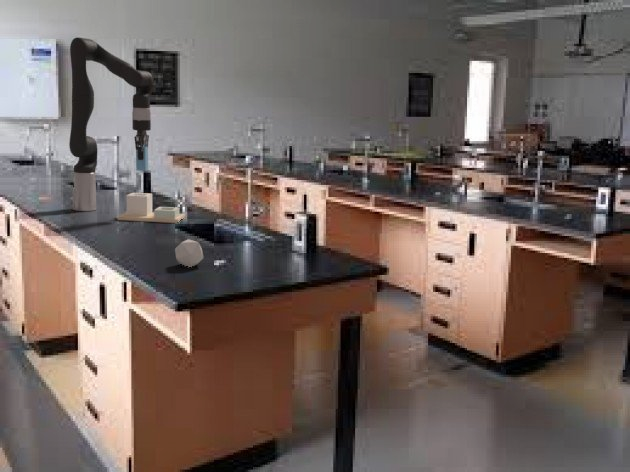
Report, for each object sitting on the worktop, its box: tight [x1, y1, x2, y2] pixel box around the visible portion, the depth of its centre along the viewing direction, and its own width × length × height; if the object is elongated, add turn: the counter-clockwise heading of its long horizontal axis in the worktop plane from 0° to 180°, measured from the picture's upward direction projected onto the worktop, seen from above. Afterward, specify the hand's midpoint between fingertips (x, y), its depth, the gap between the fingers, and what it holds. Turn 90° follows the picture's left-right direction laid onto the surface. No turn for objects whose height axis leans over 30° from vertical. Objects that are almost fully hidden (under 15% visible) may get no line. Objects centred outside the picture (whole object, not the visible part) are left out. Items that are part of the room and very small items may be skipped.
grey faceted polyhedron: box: [174, 238, 204, 268], centre depth 204 cm, size 8×9×10 cm
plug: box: [135, 146, 149, 172], centre depth 275 cm, size 4×4×10 cm
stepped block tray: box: [117, 192, 186, 224], centre depth 278 cm, size 26×14×10 cm, turn 89°
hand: (142, 159), depth 275 cm, fingers closed on plug, 4 cm apart
